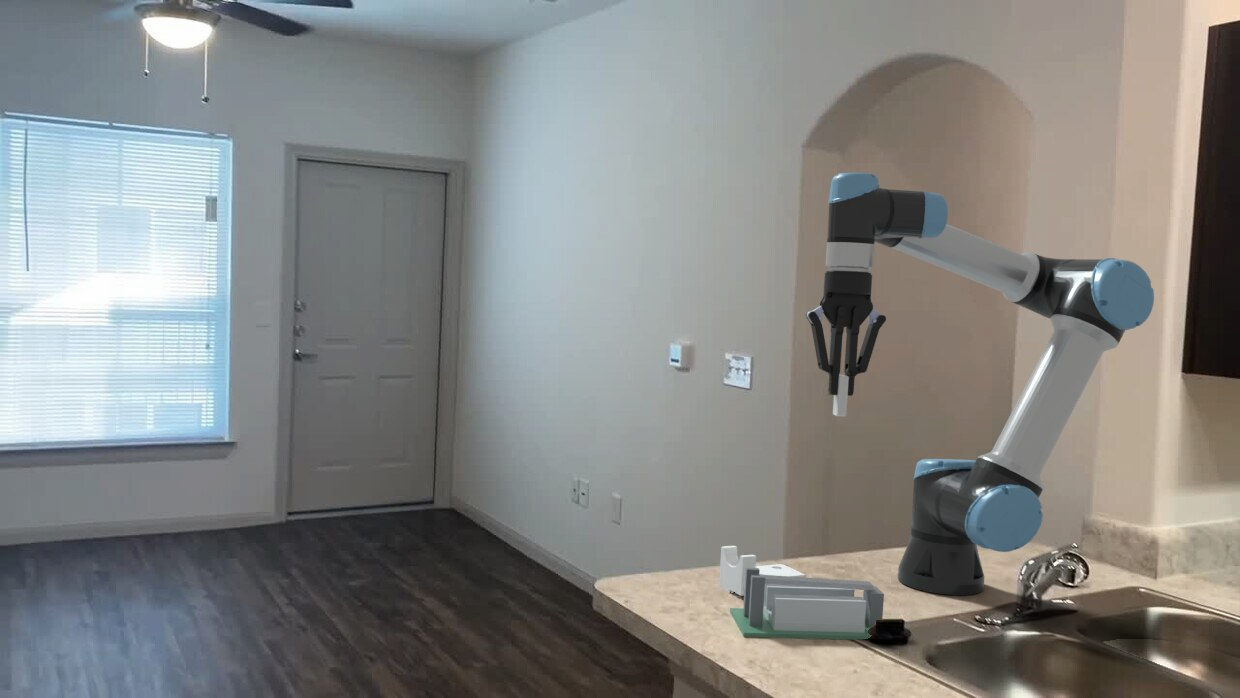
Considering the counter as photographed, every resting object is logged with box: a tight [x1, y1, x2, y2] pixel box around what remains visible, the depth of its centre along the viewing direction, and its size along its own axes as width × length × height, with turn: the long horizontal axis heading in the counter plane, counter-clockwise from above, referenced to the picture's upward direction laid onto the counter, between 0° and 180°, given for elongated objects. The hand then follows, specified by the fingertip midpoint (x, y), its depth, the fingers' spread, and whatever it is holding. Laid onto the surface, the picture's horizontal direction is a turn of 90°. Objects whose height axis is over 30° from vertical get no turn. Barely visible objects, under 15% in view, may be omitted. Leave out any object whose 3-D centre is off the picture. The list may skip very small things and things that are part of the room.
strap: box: [750, 574, 874, 591], centre depth 167 cm, size 19×2×1 cm, turn 94°
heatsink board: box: [729, 568, 885, 640], centre depth 168 cm, size 23×12×8 cm, turn 94°
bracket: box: [718, 545, 807, 597], centre depth 186 cm, size 13×7×8 cm, turn 116°
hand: (839, 415), depth 174 cm, fingers closed
